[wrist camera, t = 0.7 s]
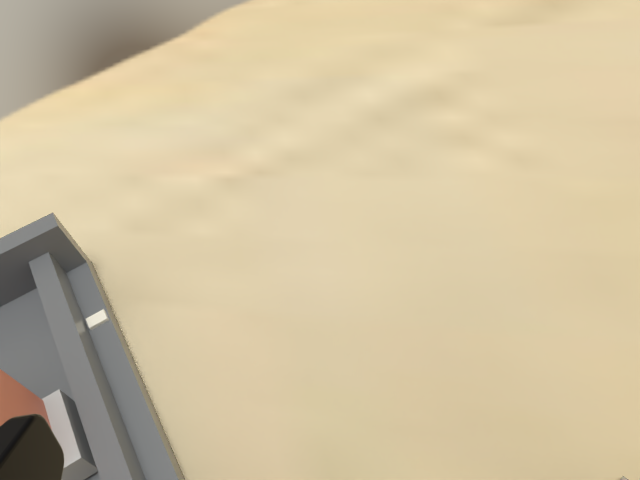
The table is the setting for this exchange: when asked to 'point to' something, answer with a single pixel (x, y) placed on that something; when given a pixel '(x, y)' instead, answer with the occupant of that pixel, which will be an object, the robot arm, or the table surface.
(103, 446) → the track housing
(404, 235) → the table surface
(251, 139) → the table surface
